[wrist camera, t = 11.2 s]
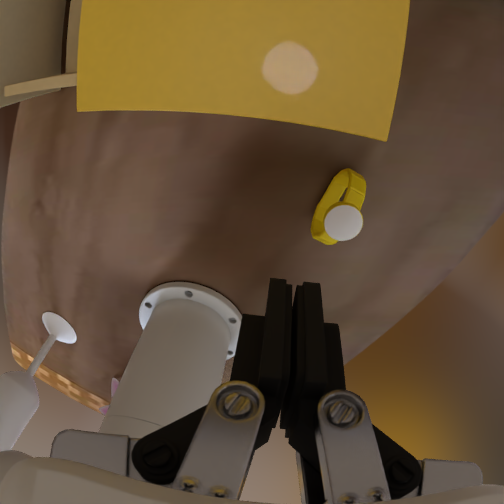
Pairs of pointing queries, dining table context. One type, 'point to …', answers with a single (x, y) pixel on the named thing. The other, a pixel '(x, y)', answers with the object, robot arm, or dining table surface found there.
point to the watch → (340, 209)
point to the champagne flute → (27, 384)
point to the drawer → (36, 48)
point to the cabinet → (246, 59)
